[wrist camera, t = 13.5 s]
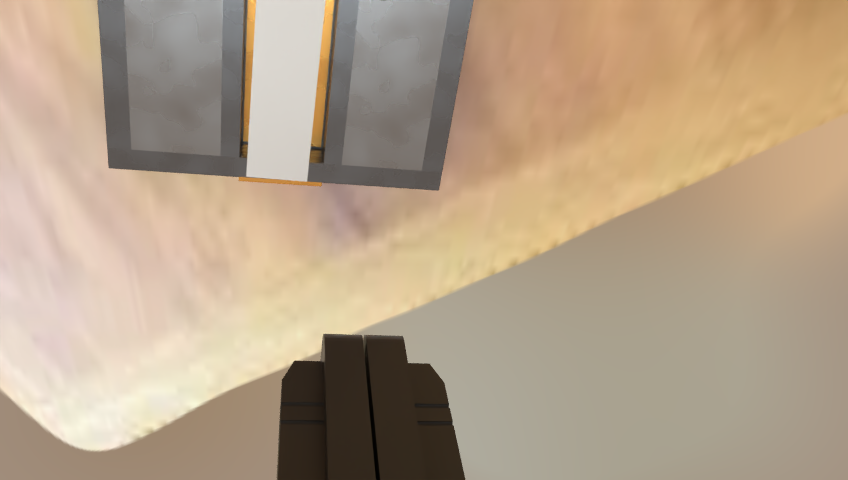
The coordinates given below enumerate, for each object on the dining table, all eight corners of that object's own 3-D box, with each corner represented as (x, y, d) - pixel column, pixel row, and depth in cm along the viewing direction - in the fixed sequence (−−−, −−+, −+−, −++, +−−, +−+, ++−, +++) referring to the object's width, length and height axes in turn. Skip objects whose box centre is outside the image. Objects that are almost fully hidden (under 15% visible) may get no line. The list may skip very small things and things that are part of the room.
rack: (475, -78, 40) (486, -69, 37) (431, 175, 47) (437, 195, 45) (101, -132, 36) (89, -124, 34) (118, 152, 43) (109, 173, 41)
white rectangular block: (323, -49, 39) (327, -20, 34) (305, 132, 44) (307, 181, 39) (262, -58, 38) (257, -30, 33) (251, 127, 43) (246, 176, 38)
